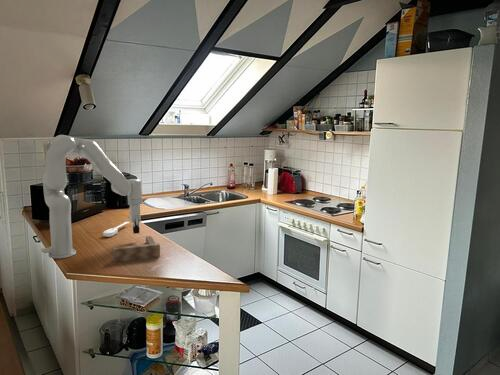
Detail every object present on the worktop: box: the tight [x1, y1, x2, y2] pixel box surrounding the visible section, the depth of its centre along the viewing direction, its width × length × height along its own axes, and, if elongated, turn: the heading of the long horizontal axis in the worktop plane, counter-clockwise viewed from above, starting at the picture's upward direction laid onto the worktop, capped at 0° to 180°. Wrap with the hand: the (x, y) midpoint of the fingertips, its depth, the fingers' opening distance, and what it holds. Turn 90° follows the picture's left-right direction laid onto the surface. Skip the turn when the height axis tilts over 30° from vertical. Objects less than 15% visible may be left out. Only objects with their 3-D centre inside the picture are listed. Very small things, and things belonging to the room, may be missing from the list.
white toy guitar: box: [102, 221, 131, 238], centre depth 236 cm, size 28×6×3 cm, turn 171°
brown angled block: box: [112, 235, 161, 263], centre depth 201 cm, size 22×26×6 cm
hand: (136, 232), depth 217 cm, fingers closed
